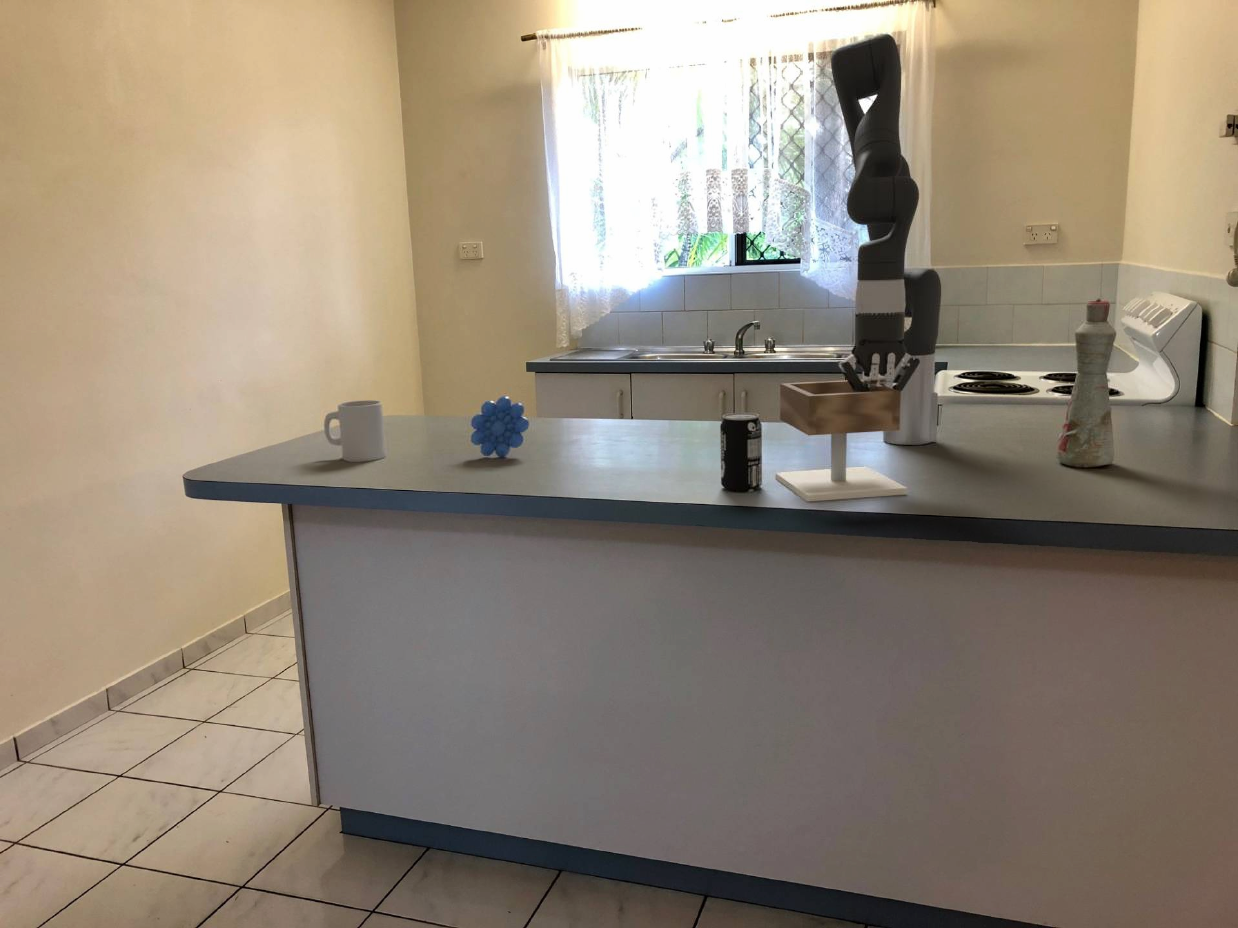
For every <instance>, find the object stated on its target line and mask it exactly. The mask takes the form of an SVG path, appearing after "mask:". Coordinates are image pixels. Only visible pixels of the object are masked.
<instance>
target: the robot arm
mask: <svg viewBox="0 0 1238 928" xmlns="http://www.w3.org/2000/svg"><path fill="white" fill-rule="evenodd" d="M899 52H900V51H899V47H898V45H897V42H896V40H895V39H894V37H893V36H892V35H891V34H890V33H889V34H888V33H883V34H882V33H881V34H877V35H873V36H870V37H867V38H862V39H860V40H856V41H853V42H850V43H846V44H843V45H840V46H838V47H836V48H835V49H833V51H832V52H831V56H830V66H831V67H830V68H831V74H832V75H831V76H832V80H833V83H834V87H835V91H836V95H837V99H838V102H839V106H840V110H841V114H842V117H843V121H844V124H845V128H846V131H847V132H846V133H847V136H848V141H849V145H850V149H851V156H852V160H853V167H854V172H855V173H854V176H853V179H852V182H851V185H850V187H849V190H848V195H847V199H846V212H847V214H848V215H847V216H848V217H849V218H850V220H851V221H853V222H854V223H855V224H857V225H862V226H866V229H867V234H868V240H869V241H865V242H863V243H862V244H860V245H859V247H858V251H857V252H858V253H857V277H856V278H857V282H856V289H855V298H854V299H855V304H854V345H853V347H852V350H851V354H850V355H849V356H847V357H846V358H845V359H840V360H838V362H837V366H838V368H839V370H840V371H841V373H842V375H843V376H844V378H845V379H846V380H847V381H848V383H849V384H850V386H851V387H852V389H853V391H855V392H874V391H876V390H877V384H880V385H883V386H886V387H889V388H892V389H895V390H898V391H901V400H900V430H895V431H882V433H883V436H882V437H883V438H882V439H883V442H885V443H887V444H893V445H901V446H902V445H904V446H905V445H906V446H907V445H909V446H911V445H912V446H915V445H917V446H918V445H925V444H929V443H930V444H931V443H935V442H937V441H938V440H937V435H938V412H939V411H938V410H939V406H938V405H939V404H938V403H939V402H938V401H939V394H938V392H936V391H935V370H936V369H935V368H936V367H935V364H936V362H935V361H936V345H937V342H938V337H939V327H940V323H939V322H940V312H941V302H942V283H941V278H940V275H939V273H938V272H937V271H936V269H933V268H929V267H928V268H925V267H924V268H917V267H916V268H905V261H906V260H905V259H906V249H907V244H908V238H909V233H910V230H911V226H912V223H913V221H914V218H915V214H916V212H917V208H918V205H919V199H920V189H919V186H918V184H917V182H916V181H915V180H914V178H912V176H911V170H910V165H909V163H908V161H907V160H906V158H905V157H904V155H903V154H902V148H901V146H902V145H901V139H900V124H899V123H900V113H901V110H900V109H901V100H902V99H901V97H902V65H901V56H900V53H899ZM874 96H876V97H875V98H874V101H873V102H872V104H871V105H870V107H868V109H867V111H866V112H864V110H863V107H862V105H861V103H860V100H863V99H864V100H865V99H866V98H870V97H874ZM906 318H907V319H908V318H911V322H910V324H909V328H908V329H907V330H905V319H906ZM856 364H857V365H858V366H859V368H860V370H861V371H862V379H863V381H864V384H863V383H862V382H861V380H862V379H860V376H858V374H857V373H856V368H857V367H856V366H857V365H856Z"/></svg>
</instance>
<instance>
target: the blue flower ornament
mask: <svg viewBox="0 0 1238 928" xmlns="http://www.w3.org/2000/svg"><path fill="white" fill-rule="evenodd" d="M524 412H525V407H524V405H523V404H522V403H521V402H514V403H512V400H511V399H510V397H509V396H505V395H503V396H500V397H499V398H498V399H497V401H496V403H495V402H494V401H493V400H486V401H485V402H484V403H483V404H482V405H481V407H480V413H477V414H475V415H474V416H473V417H472V418H471V420H470V422H471V423H470V424H471V427H472V429H474V431H473V432H472V433H471V436H470V441H471V443H472V444H473V445H474V446H480V449H479V450H480V453H481V454H482V455H483V456H485V457H491V455H493V454H494V453H495V454H496V456H497V457H499V458H504V457H507V456H508V455H509V453H510V451H511V449H512V448H513V449H517V448H519V447H521V446H522V444H523V443H524V435H523V433H524V432H526V431H527V430H528V429H529V424H530V422H529V420H528V418H527V417H525V416H523V414H524Z"/></svg>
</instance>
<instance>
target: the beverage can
mask: <svg viewBox="0 0 1238 928" xmlns="http://www.w3.org/2000/svg"><path fill="white" fill-rule="evenodd" d="M722 418H723V419H722V422H721V423H720V426H719V427H720V432H719V433H720V435H719V436H720V483H721V486H722V487H723V489H724V490H726V491H727V492H733V493H749V492H751V493H752V492H754V491H757V490H759V489H760V487H761V486H762V484H763V448H762V447H763V437H762V436H763V435H762V433H763V430H762V427H763V425H762V423H761V420H760V415H759V414H758V413H755V412H731V413H729V412H728V413H725V414H723V415H722Z"/></svg>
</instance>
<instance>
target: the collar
mask: <svg viewBox="0 0 1238 928" xmlns="http://www.w3.org/2000/svg"><path fill="white" fill-rule="evenodd" d="M860 380H861V382H862V383H863V384H864V381H863V378H862V379H860ZM779 385H780V387H779V388H780V389H779V392H780V393H779V394H780V395H779V396H780V397H779V404H780V405H779V420H780V421H782V422H784V423H786V424H788V425H789V426H791V427H793V428H794V429H797V430H798V431H800V432H802V433H804V434H805V435H806V436H822V435H825V436H826V435H831V434H843V433H847V434H854V433H855V434H857V433H873V432H874V433H875V432H883V431H895V430H900V400H901V391H898V390H895V389H892V388H889V387H886V386H883V385H880V384H879V383H877V390H876V391H874V392H855V391H853V389H852V387H851V386H850V384H849V383H848V381H847V379H846V380H829V381H828V380H827V381H826V380H825V381H824V380H823V381H807V382H805V381H804V382H803V381H802V382H790V383H789V382H788V383H787V382H786V383H780V384H779Z"/></svg>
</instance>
